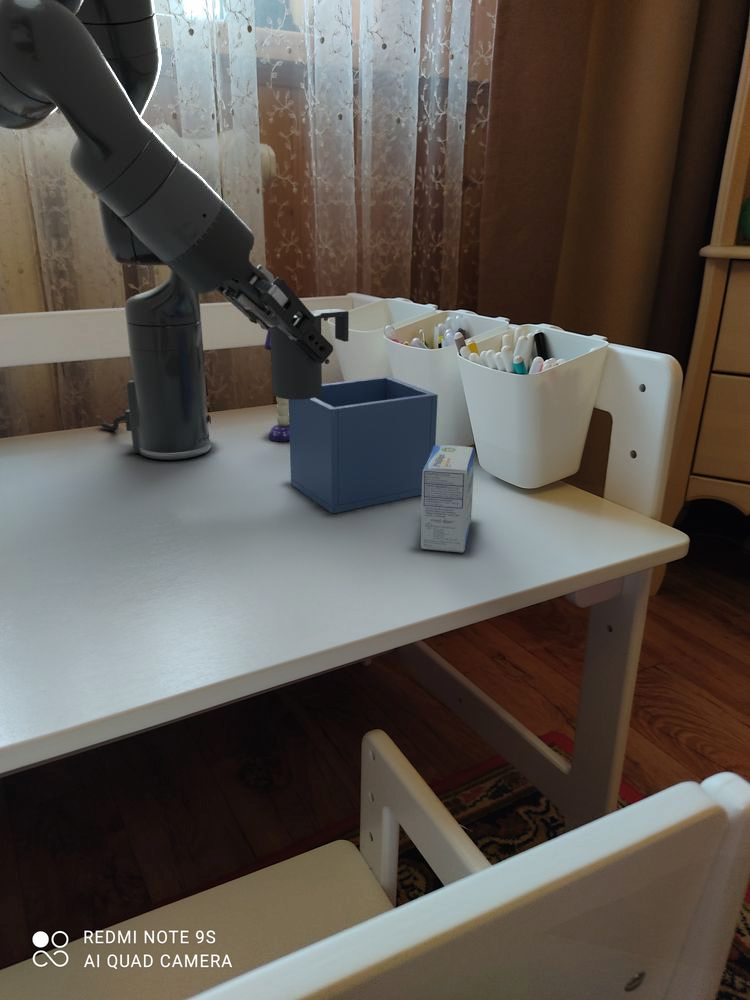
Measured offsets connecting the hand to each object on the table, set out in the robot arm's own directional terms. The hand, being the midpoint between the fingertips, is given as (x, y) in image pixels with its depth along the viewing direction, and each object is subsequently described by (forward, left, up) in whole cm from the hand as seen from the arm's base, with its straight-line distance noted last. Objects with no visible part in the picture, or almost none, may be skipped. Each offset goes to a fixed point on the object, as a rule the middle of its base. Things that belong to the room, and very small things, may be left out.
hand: (312, 350), depth 78 cm
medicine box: (+15, -2, -18) cm, 23 cm away
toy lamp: (-13, +26, -18) cm, 35 cm away
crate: (+3, +9, -18) cm, 20 cm away
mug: (0, 0, -4) cm, 4 cm away
